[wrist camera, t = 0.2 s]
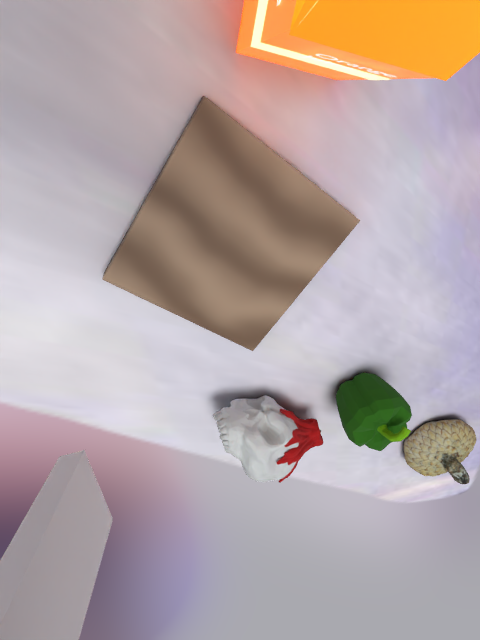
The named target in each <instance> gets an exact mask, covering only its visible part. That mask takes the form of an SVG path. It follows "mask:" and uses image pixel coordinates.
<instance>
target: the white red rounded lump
mask: <svg viewBox="0 0 480 640" xmlns="http://www.w3.org/2000/svg"><path fill="white" fill-rule="evenodd" d="M230 405H231V406H230V407H223V408H222V409H221V410H220V411H218V412H216V413H214V414H213V417H214V418H215V420H217V426H218V430H219V432H220V433H221V435H220V439H222V443H223V446H224V448H225V451H226V452H227V453H230V454H232V455H233V456H234V457H236V458H238V459H239V460H240V461H241V463H242V466H243V469H244V471H245V473H246V475H247V476H248V477H250V478H251V479H253V480H255V481H260V482H267V481H271V480H272V481H273V480H279V482H281V481H283V480H284V479H285V478H287V477H288V476H290V475H291V473H292V472H293V470H294V469H295V468H296V466H297V463H298V461H299V460H300V459H301V457H302V456H303V454H304V453H305V452H307V451H308V450H309V449H310V448H312V447H315V446H320V445H322V444H323V439H322V436H321V434H320V433H321V430H319V427H318V422H317V420H316V419H306V420H304V419H300V418H298V417H296V416H295V415H294V413H293V412H292V411H287V410H285V409H284V408H283V407H281V406H279V405H278V404H277V403H276V401H275V400H274V399H273V398H271V397H269V396H266V395H265V396H262V397H260V398H257V399H245V398H243V399H235V400H232V401H231V403H230Z"/></svg>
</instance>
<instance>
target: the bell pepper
mask: <svg viewBox="0 0 480 640" xmlns="http://www.w3.org/2000/svg"><path fill="white" fill-rule="evenodd" d="M336 401H337V406H338V411H339V415H340V418H341V422H342V426H343V428H344V430H345V432H346V434H347V436H348V438H349V439H350V440H351V441H352V442H354V443H355V444H356V445H358V446H359V447H360V446H362V445H364V444H365V445H366V446H368V447H369V448H372V449H375V450H378V451H381V450H383V449H384V448H385V447H386V446H387V445H388V444H390V443H391V442H396V441H401V440H403V439H405V438H406V437H408V435H409V434H410V432H411V431H410V430H409V429H407V425H406V422H408V421H409V420H410V418H411V416H412V414H411V409H410V406H409V405H408V403H407V402H406V401H405V399H404V398H403V397H402V396H401V395H400V394H399V393H398V392H397V391H396V390H395V389H394V388H393V387H391V386H390V385H389V384H388V383H386V382H385V381H384V380H383V379H381V378H380V377H378V376H377V375H375V374H370V373H364V372H363V373H361V374H358V375H356V376H354V378H353V380H351V381H346V382H344V383H342V384H341V385H340V387H339V389H338V391H337V394H336Z"/></svg>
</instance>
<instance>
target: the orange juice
mask: <svg viewBox="0 0 480 640" xmlns="http://www.w3.org/2000/svg"><path fill="white" fill-rule="evenodd" d="M479 52H480V0H244V5H243V11H242V18H241V24H240V30H239V36H238V43H237V49H236V53H239V54H243V55H246V56H250V57H254V58H257V59H261V60H265V61H269V62H272V63H276V64H280V65H283V66H287V67H291V68H295V69H298V70H302V71H306V72H309V73H313V74H317V75H320V76H324V77H328V78H332V79H335V80H359V79H369V80H390V79H408V78H438V79H441V80H445V81H446V80H447V79H449V78H451V76H452V75H453V74H455V73H456V72H457V71H458V70H459V69H460V68H462V67H463V66H464V65H465V64H466V63H468V62H469V61H470V60H471V59H472V58H474V57H475V56H476V55H477V54H478V53H479Z"/></svg>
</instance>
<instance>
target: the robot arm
mask: <svg viewBox="0 0 480 640" xmlns="http://www.w3.org/2000/svg"><path fill="white" fill-rule="evenodd" d="M112 520H113V518H112V516H111V514H110V511H109V509H108V506H107V504H106V501H105V499H104V497H103V495H102V492H101V489H100V487H99V485H98V482H97V480H96V477H95V475H94V473H93V470H92V468H91V465H90V463H89V461H88V458H87V456H86V453H85V451H80V452H76V453H72V454H68V455H64V456H60V457H59V459H58V460H57V462H56V464H55V466H54V467H53V469H52V471H51V473H50V474H49V476H48V478H47V480H46V481H45V483H44V485H43V487H42V489H41V490H40V492H39V494H38V495H37V497H36V499H35V501H34V503H33V504H32V506H31V508H30V510H29V511H28V513H27V515H26V517H25V518H24V520H23V522H22V524H21V525H20V527H19V529H18V531H17V532H16V534H15V536H14V538H13V539H12V541H11V543H10V545H9V546H8V548H7V550H6V552H5V553H4V555H3V557H2V559H1V561H0V640H79V637H80V633H81V630H82V626H83V622H84V619H85V615H86V612H87V609H88V605H89V601H90V598H91V594H92V591H93V587H94V584H95V580H96V577H97V573H98V569H99V566H100V563H101V559H102V555H103V552H104V548H105V545H106V541H107V538H108V534H109V531H110V527H111V524H112Z"/></svg>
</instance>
